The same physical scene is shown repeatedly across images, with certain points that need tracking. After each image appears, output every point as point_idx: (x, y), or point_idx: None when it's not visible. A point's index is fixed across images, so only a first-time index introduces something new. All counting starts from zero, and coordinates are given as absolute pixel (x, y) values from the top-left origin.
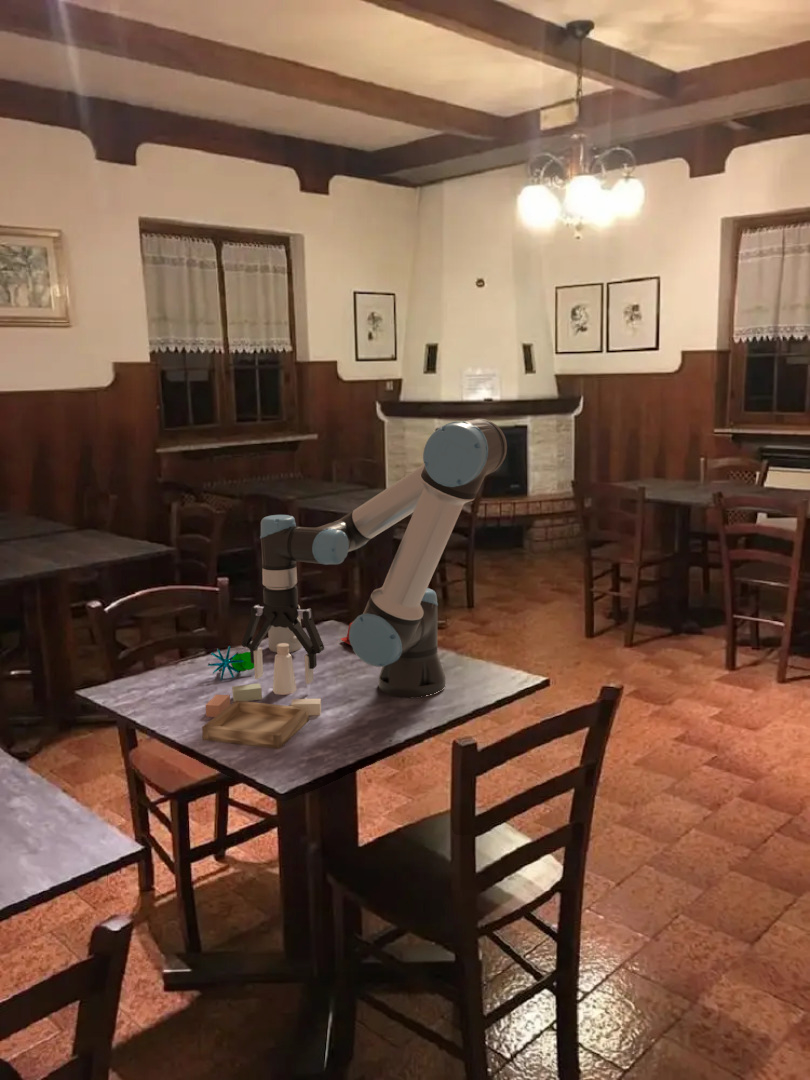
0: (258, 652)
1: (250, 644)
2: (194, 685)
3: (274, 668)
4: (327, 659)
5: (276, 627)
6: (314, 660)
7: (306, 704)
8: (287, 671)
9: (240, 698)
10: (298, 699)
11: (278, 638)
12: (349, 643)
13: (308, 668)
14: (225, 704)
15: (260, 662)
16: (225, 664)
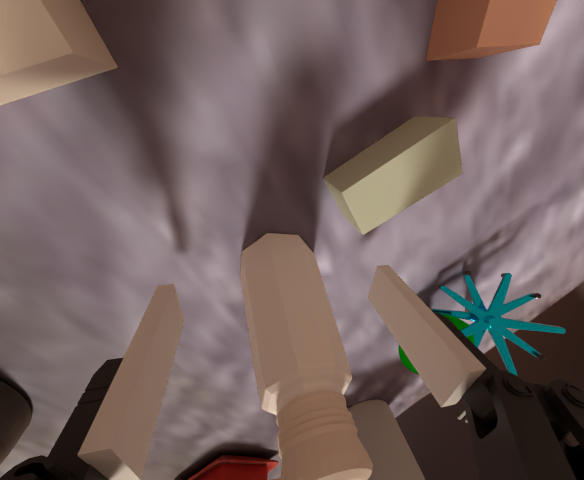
0: (448, 371)
1: (535, 410)
2: (528, 226)
3: (330, 313)
4: (265, 416)
5: (397, 465)
6: (73, 422)
7: None
8: (260, 310)
9: (403, 131)
10: (22, 54)
11: (380, 434)
12: (251, 462)
13: (128, 352)
14: None
15: (403, 329)
16: (488, 311)
